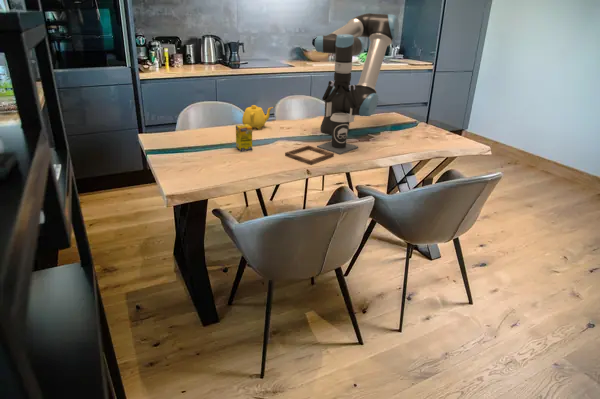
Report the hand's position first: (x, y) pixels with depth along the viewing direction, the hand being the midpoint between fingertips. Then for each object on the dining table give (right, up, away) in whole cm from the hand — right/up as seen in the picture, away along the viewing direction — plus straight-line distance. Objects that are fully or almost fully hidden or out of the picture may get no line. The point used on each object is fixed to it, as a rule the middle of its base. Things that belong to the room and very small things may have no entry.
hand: (339, 119), depth 202 cm
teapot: (-41, +1, +34) cm, 53 cm away
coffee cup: (0, -12, +5) cm, 13 cm away
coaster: (-1, -13, +6) cm, 14 cm away
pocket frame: (-14, -18, -6) cm, 24 cm away
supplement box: (-44, -14, 0) cm, 46 cm away
